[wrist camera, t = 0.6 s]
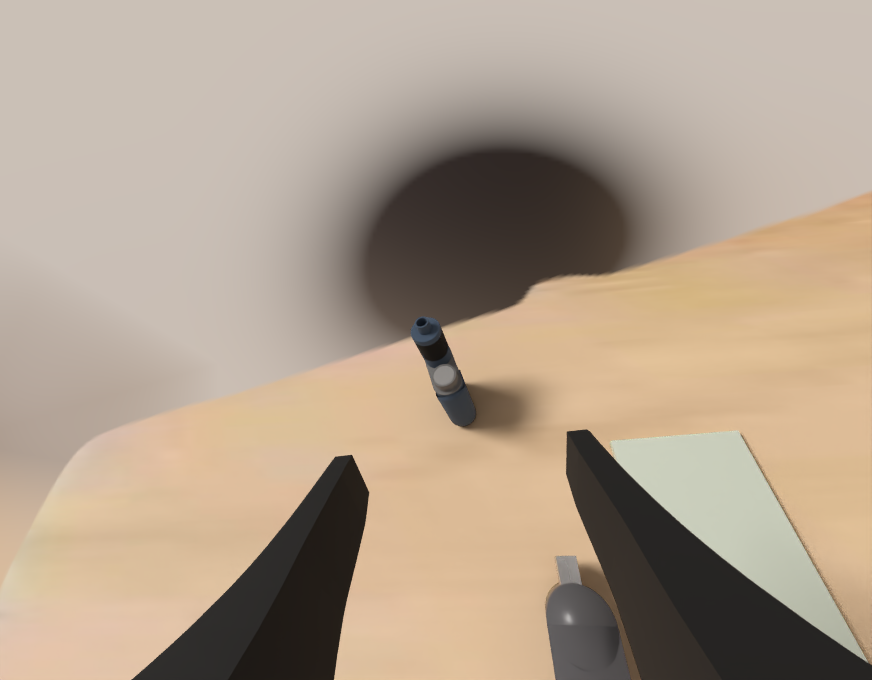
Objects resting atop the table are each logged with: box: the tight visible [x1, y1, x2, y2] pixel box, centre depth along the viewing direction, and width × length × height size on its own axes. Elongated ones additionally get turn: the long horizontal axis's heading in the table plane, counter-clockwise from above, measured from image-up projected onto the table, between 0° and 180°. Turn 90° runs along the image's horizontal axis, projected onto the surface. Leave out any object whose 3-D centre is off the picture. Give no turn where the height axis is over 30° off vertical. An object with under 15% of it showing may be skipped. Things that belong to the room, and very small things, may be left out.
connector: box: [545, 556, 631, 680], centre depth 19 cm, size 9×4×6 cm, turn 0°
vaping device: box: [411, 317, 476, 426], centre depth 28 cm, size 3×5×12 cm, turn 16°
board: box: [610, 431, 868, 662], centre depth 22 cm, size 14×9×1 cm, turn 0°
